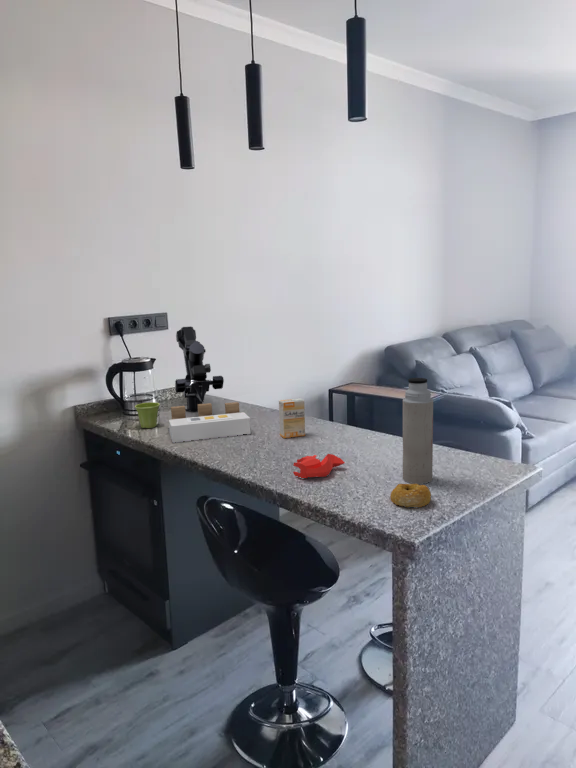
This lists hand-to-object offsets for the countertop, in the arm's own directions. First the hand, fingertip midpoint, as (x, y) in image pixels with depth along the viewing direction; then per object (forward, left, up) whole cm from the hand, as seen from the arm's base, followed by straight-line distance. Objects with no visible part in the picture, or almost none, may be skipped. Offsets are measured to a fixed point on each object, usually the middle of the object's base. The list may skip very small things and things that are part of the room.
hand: (202, 401), depth 223 cm
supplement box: (+39, +6, -10) cm, 41 cm away
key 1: (-1, -11, -8) cm, 14 cm away
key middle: (+4, -3, -8) cm, 10 cm away
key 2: (+12, +4, -8) cm, 15 cm away
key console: (+9, -7, -9) cm, 15 cm away
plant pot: (-17, -13, -10) cm, 24 cm away
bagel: (+101, -25, -10) cm, 104 cm away
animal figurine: (+69, -20, -10) cm, 73 cm away
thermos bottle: (+95, -10, -10) cm, 96 cm away
